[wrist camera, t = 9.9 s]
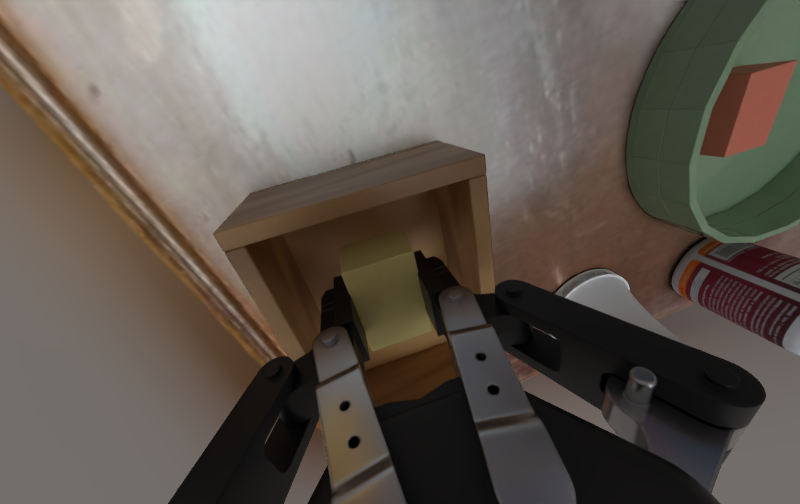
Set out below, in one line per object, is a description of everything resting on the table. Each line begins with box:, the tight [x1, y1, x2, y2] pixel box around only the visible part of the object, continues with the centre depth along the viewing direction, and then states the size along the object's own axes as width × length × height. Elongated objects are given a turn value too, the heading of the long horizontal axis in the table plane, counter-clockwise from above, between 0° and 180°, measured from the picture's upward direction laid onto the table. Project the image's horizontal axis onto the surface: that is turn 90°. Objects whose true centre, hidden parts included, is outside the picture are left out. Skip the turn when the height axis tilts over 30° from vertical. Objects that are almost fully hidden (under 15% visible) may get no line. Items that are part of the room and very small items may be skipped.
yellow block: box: [339, 229, 432, 351], centre depth 13 cm, size 4×3×2 cm, turn 13°
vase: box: [549, 269, 691, 347], centre depth 21 cm, size 8×8×10 cm
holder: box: [213, 141, 495, 406], centre depth 17 cm, size 16×11×6 cm
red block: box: [699, 60, 798, 158], centre depth 17 cm, size 4×3×2 cm, turn 13°
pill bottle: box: [672, 238, 800, 355], centre depth 21 cm, size 6×6×11 cm
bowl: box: [626, 0, 800, 243], centre depth 18 cm, size 18×18×4 cm
